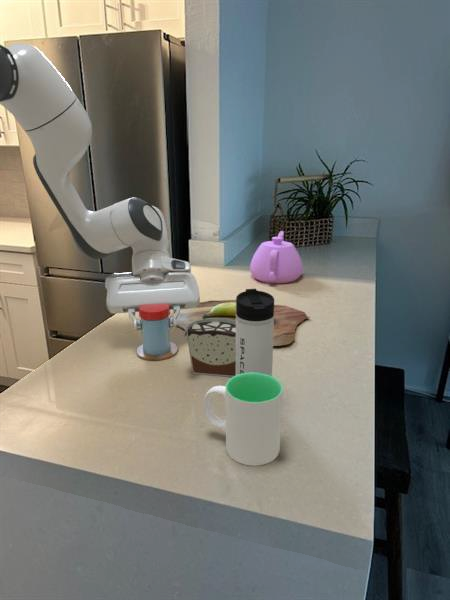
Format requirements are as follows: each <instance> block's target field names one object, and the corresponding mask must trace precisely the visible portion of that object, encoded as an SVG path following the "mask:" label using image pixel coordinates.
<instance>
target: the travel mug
mask: <svg viewBox="0 0 450 600" xmlns="http://www.w3.org/2000/svg"><path fill="white" fill-rule="evenodd" d="M235 300H236V309H237V310H236V375H238V374H242V373H250V372H255V373H263V374H267V375H270V376H272V377H273V361H274V360H273V357H274V346H273V332H274V305H275V298H274V296H273V295H272V294H270V293H268V292H266V291H264V290H263V291H262V290H258V289H257V288H246V289H245V291H242V292H239V293H238V294H237V296H236V298H235Z"/></svg>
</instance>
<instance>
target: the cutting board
mask: <svg viewBox="0 0 450 600" xmlns="http://www.w3.org/2000/svg"><path fill="white" fill-rule="evenodd" d="M236 310H237V309H236V299H223V300H222V299H221V300H206V301H201V302H200V303H199V305H198V306H197V308H190V309H180V314H179V316H178V318H177V320H176V327H179V328H181V329H184V331H185V330H186V327H187V326H188V325H189V324H190V323H192V322H194V321H197V320H201V319H206V318H226V319H231V320H234V321H236ZM173 316H174V313H173V314H172V315H171V316H169V318H172V317H173ZM307 319H311V317H310V316H308V315H307V314H306V312H305V311H303V310H300V309H296V308H294V307H291V306H288V305H280V304H274V332H273V347H281V346H287V345H290V344H291V343H293V341H295V335H296V334H295V333H296V329H297V327H298V325H299V324H301V323H302V322H304V321H305V320H307Z"/></svg>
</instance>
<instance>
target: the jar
mask: <svg viewBox="0 0 450 600" xmlns="http://www.w3.org/2000/svg"><path fill="white" fill-rule="evenodd" d="M169 318H170V315H169V316H168V317H166V318H164V319H160V320H145V319H142V318H141V317H140V320H141V330H140V331H141V343H142V344H143V352H144V353H146V354H148V355H162V354H165V353H167V352H169V351H170V349H171V346H170V342H171V330H170V329H171V328H170V327H169Z"/></svg>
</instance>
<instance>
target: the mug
mask: <svg viewBox="0 0 450 600" xmlns="http://www.w3.org/2000/svg"><path fill="white" fill-rule="evenodd" d="M213 394H218V395H220V396H221V397H222V398H223V399H224V403H225V419H224V420H223V419H221V418H219V416H217V415H216V414H215V412H214V410H213V408H212V403H211V398H212V395H213ZM282 407H283V385H282V383H281V381H280V380H279V379H278V378H276V377H274V376H273V375H272V376H270V375H267V374H263V373H255V372H250V373H242V374H238V375H236V376H234V377H229V379H228V380H227V381H226V383H225V385H215V386H213V387H211V388H210V389H208V390H207V392H206V393H205V396H204V399H203V410H204V413H205V416H206V419H208V421H209V422H210V423H211V424H212V425H213V426H215V427H216V428H218V429H220V430H223V431H224V433H225V451H226V453H227V454H228V456H229V457H230V458H231V459H232V460H234V461H235V462H236V463H239V464H242V465H246V466H249V467H250V466H253V467H256V466H257V467H258V466H264V465H267V464H270V463H272V462H273V461H274V460H276V458H277V457H278V456H279V454H280V450H281V429H282Z"/></svg>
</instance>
